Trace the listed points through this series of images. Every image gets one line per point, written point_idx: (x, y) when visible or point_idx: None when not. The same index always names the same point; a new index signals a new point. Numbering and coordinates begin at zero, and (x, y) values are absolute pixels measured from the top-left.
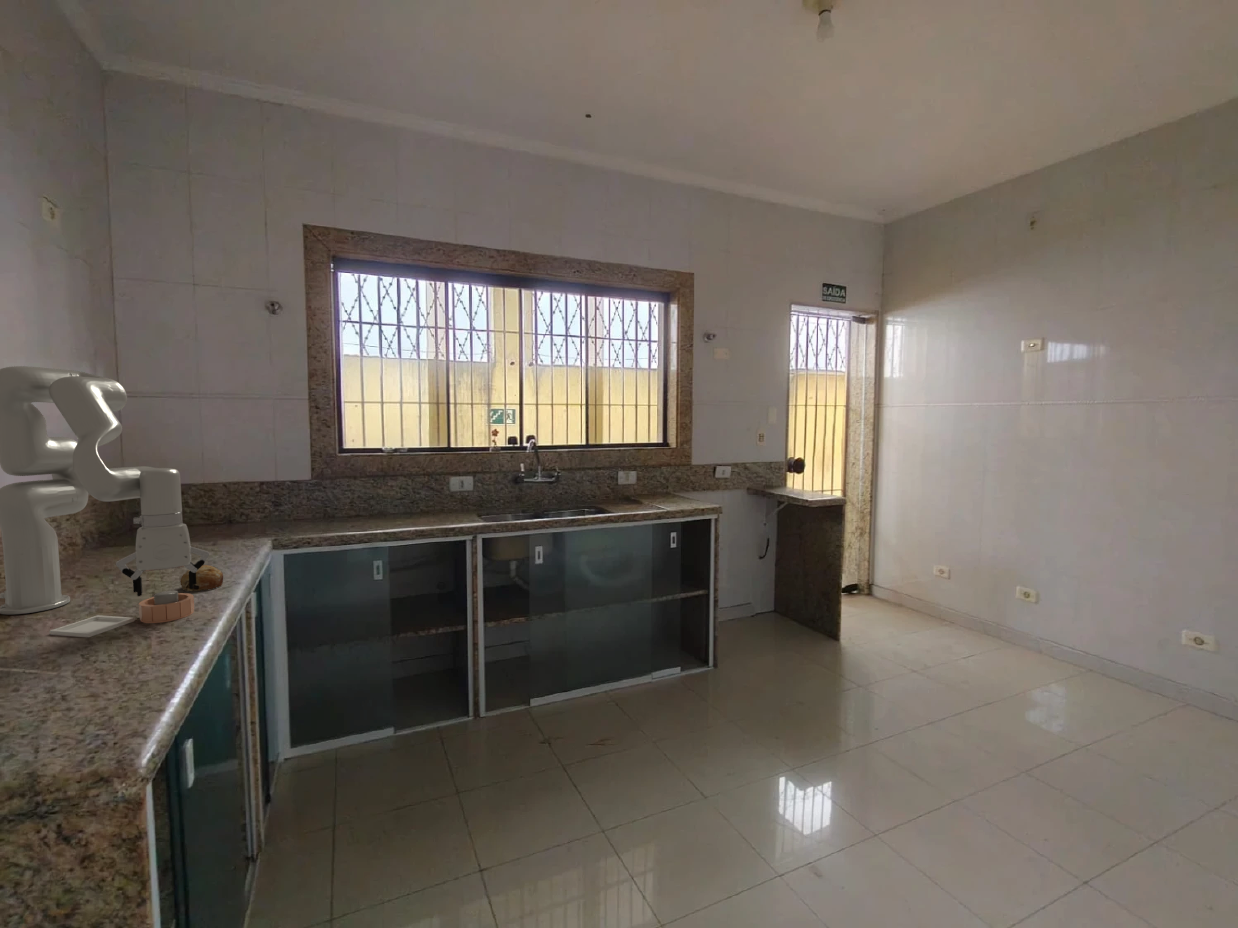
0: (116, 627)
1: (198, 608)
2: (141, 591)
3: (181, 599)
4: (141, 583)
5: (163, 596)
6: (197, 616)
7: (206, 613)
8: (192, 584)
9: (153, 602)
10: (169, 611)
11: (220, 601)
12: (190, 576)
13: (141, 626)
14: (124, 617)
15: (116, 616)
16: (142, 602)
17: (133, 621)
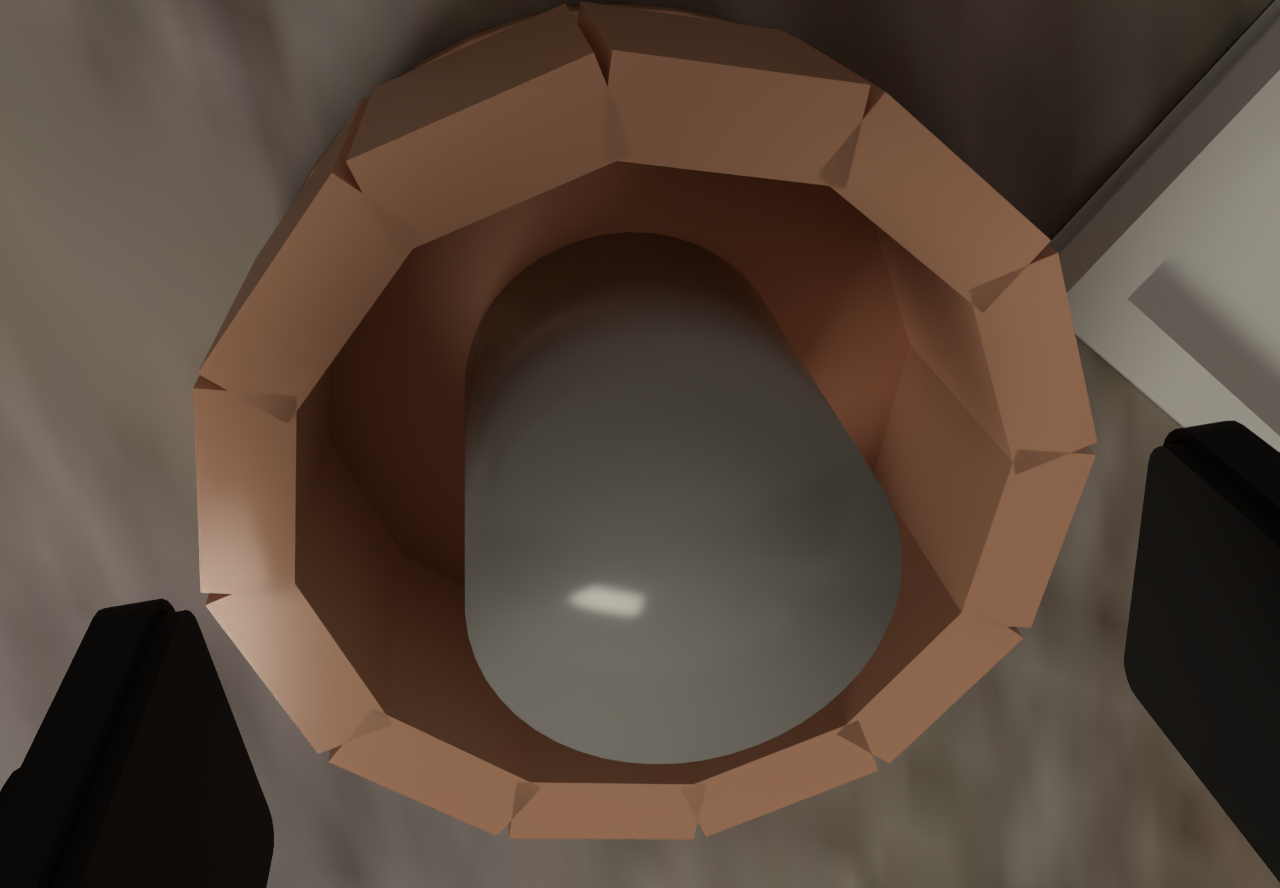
0: (1245, 54)
1: None
2: (1188, 546)
3: (471, 685)
4: (1276, 779)
5: (709, 394)
6: (147, 191)
7: (45, 308)
8: (74, 677)
9: None
10: (532, 42)
11: None
12: (19, 869)
13: (921, 15)
14: (1164, 384)
15: None
16: (1038, 495)
17: None
